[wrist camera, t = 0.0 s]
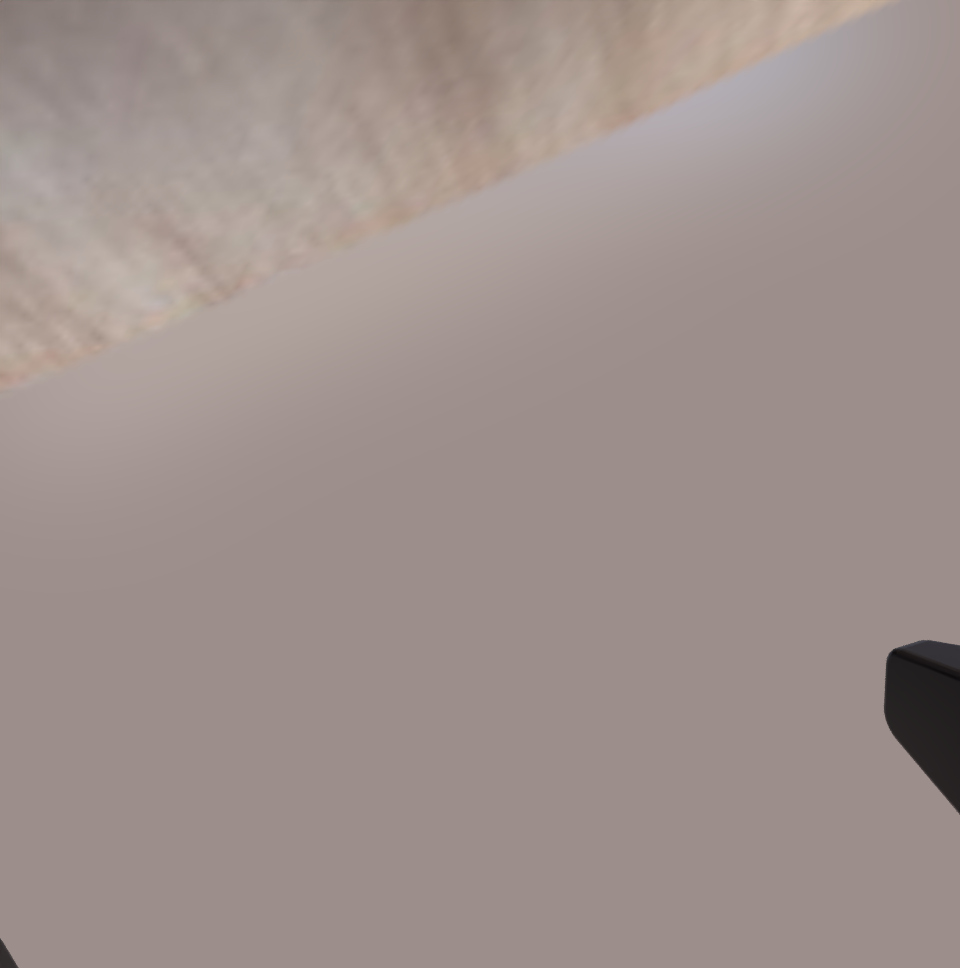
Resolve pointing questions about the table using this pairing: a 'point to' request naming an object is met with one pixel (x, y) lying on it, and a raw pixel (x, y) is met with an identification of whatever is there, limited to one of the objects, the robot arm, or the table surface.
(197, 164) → the table surface
